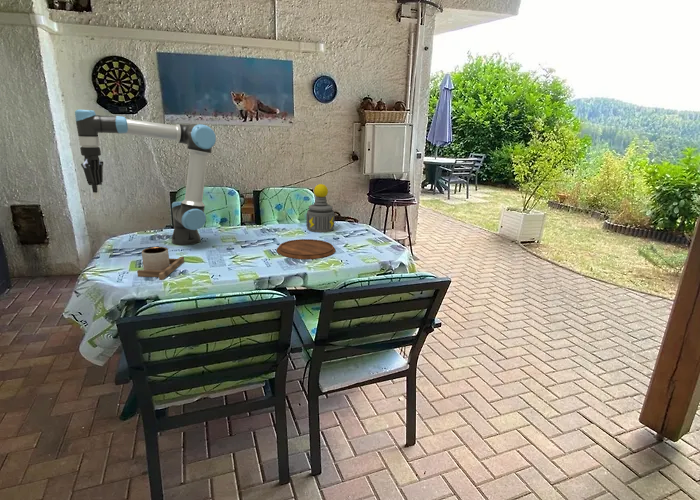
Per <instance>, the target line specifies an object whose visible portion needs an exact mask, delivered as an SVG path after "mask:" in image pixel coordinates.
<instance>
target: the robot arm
mask: <svg viewBox="0 0 700 500" xmlns="http://www.w3.org/2000/svg"><path fill="white" fill-rule="evenodd" d="M95 111H96V110H93V109H92V110H91V109H76V110H75V112H74V115H75V117H74V118H75V124H76V131H77V136H78V142H79V146H80V156H83V157H84V160H83V161H84V162H82V163H80V165H81V168H82V169H83V172H84V175H85V178H86V182H87V185H88V186H91V188H92V196H93V199H94V200H96V201H98V200H100V201H101V200H102V199H103V198H102V190H101V186H102V185H103V182H104V179H103V178H104V176H103V175H104V174H103V173H104V170H103V169H104V168H103V166H104V161H101V160H100V158H99V157H100V156H102V153H101V147H100V145H101V144H100V139H99V133H100V134H102V133H104V134H120V135H121V134H122V135H129V136H136V137H145V138H152V139H159V140H160V139H162V140H168V141H175V142H176V143H178V144H183V145H186V146H187V151H188V152H189V160H188V168H187V178H186V187H185V196H184V199H183V200H180V201H173V202H172V203H171V211H172V220H173V232H172V236H171V243H172V244H173V245H179V246H180V245H181V246H186V245H194V244H197V243H200V242H202V241H201V235H200V233H199V230H200V229H201V228H203V227H204V225H205V224H206V221H207V217H206V213H205V207H206V205H205V204H204V202H203V198H204V197H203V196H204V189H205V182H206V175H207V173H206V172H207V165H208V157H209V156H210V155H212V151H213V147H214V145H215V144H216V142H217V141H216V140H217V135H216V133H215V131H214V130H213V128H211V127H210V126H209V125H206V124H202V123H199V124H197V123H196V124H181V123H177V124H175V125H174V124H167V123H161V122H153V121H147V120H139V119H131V118H126V117H125V116H122V115H98V114H96V112H95Z"/></svg>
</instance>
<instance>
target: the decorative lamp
mask: <svg viewBox="0 0 700 500" xmlns="http://www.w3.org/2000/svg"><path fill="white" fill-rule="evenodd" d="M328 193H329V188H328V187H327V186H326V184H324V183H319V184H317V185H315V186H314V189H313V194H314V196H315V199H314V202H313V204H310V205H309V206H308V209H307V212H306V220H305V221H306V228H307V230H308V231H310V232H311V233H312V232H313V233H329V232H332V231H333V230H334V228H335V215H336V214H335V210H333V209H334V207H333V206H332V205H330V204H328V202H327V201H328V200H327V197H326V196H328Z"/></svg>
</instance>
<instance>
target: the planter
mask: <svg viewBox="0 0 700 500" xmlns="http://www.w3.org/2000/svg"><path fill="white" fill-rule="evenodd" d="M169 254H170V253H169V248H167V247H164V246H151V247H146V248H144V249H142V250H141V256H142V257H141V258H142V270H161V271H163V270H165V269H166V268H167V267H168V266H170V262H169V258H170V257H169Z"/></svg>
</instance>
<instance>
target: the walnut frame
mask: <svg viewBox="0 0 700 500" xmlns="http://www.w3.org/2000/svg"><path fill="white" fill-rule="evenodd" d="M169 262H170V266H168V267H167V268H166V269H165V270H163V271H161V270H144V269H138V270H136V271H137V277H138V278H139V277H141V278H142V277H143V278H145V277H148V278H149V277H150V278H158V280H161V281H162V280H164V279H165V278H167V277H168V276H169V275H170V274H171V273H173V272H174V271H175V270H176V269H177V268H179V267H180V266H181V265H183V263H184V262H185V257H184V256H180V257H179V258H170V257H169Z"/></svg>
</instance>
